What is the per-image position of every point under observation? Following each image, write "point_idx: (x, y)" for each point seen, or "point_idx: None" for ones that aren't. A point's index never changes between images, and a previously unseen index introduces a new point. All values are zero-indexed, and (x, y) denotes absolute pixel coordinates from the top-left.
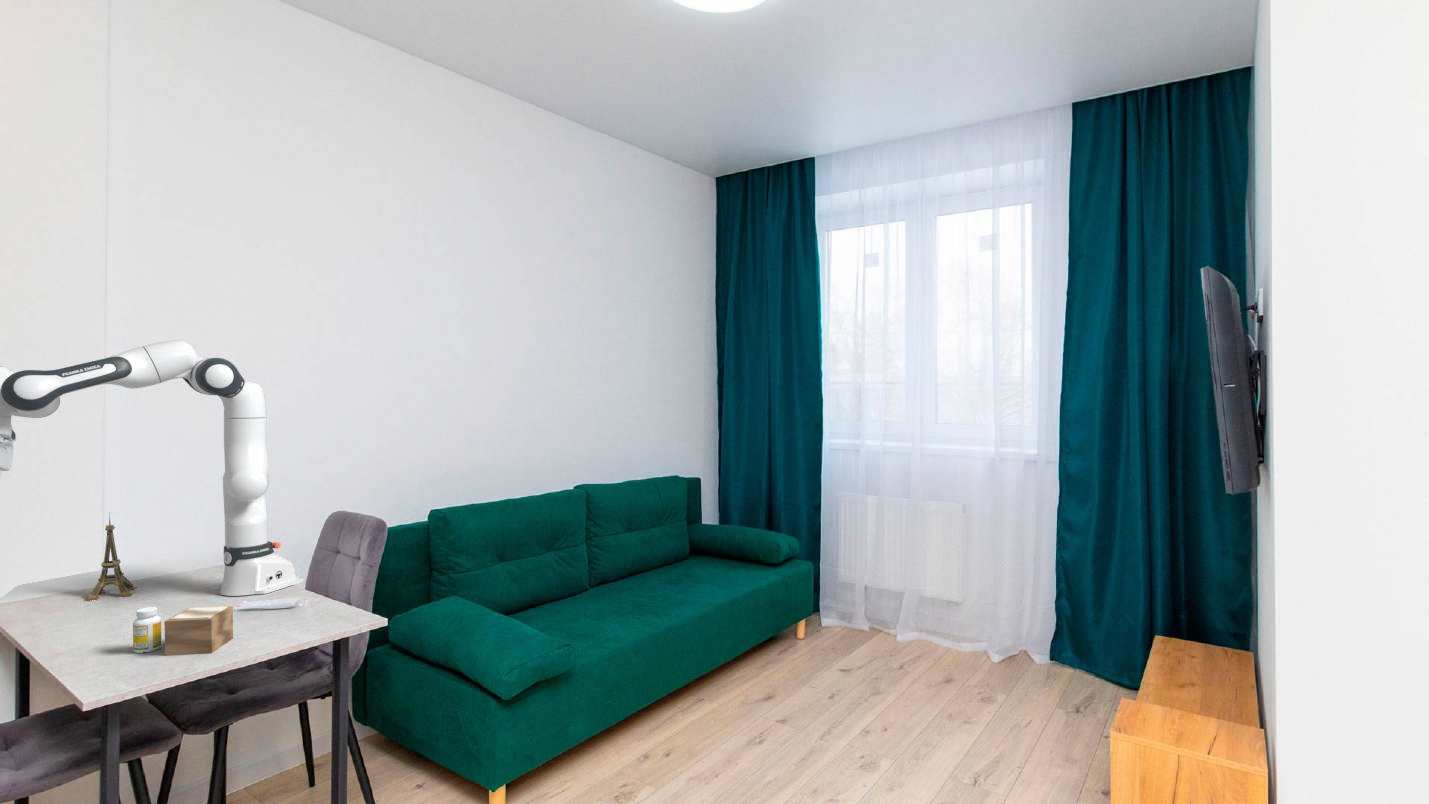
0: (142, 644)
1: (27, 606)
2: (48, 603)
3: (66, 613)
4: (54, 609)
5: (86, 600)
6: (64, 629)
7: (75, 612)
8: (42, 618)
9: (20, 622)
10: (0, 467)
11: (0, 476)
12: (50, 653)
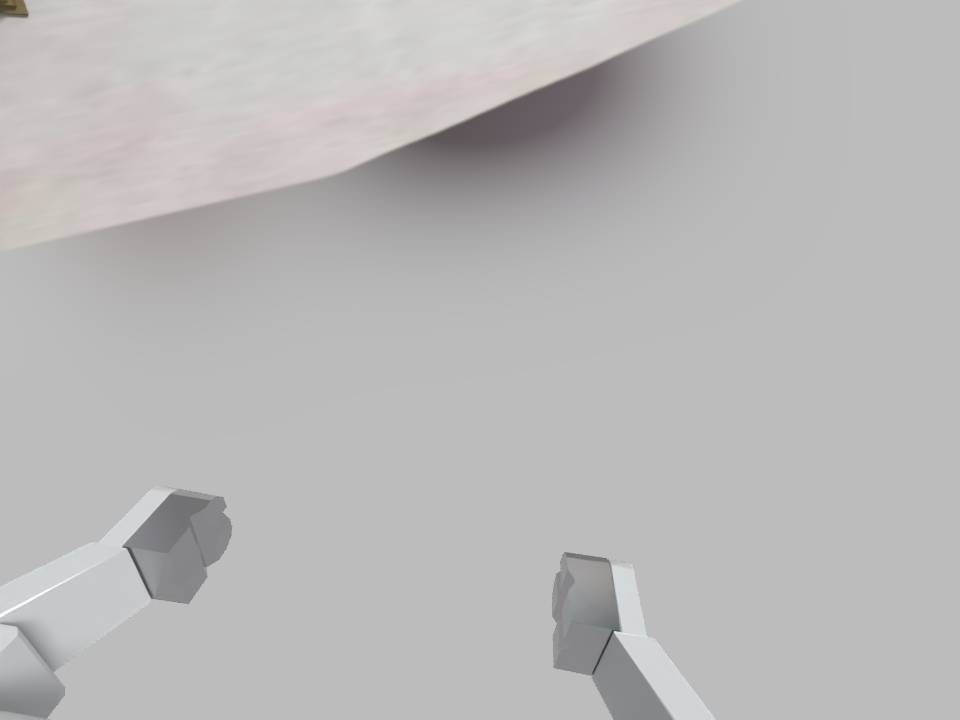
0: None
1: (63, 197)
2: (31, 141)
3: (199, 52)
4: (128, 104)
5: (17, 7)
6: (412, 21)
7: (194, 22)
8: (242, 118)
9: (268, 170)
10: (21, 717)
11: (28, 582)
12: (652, 16)
